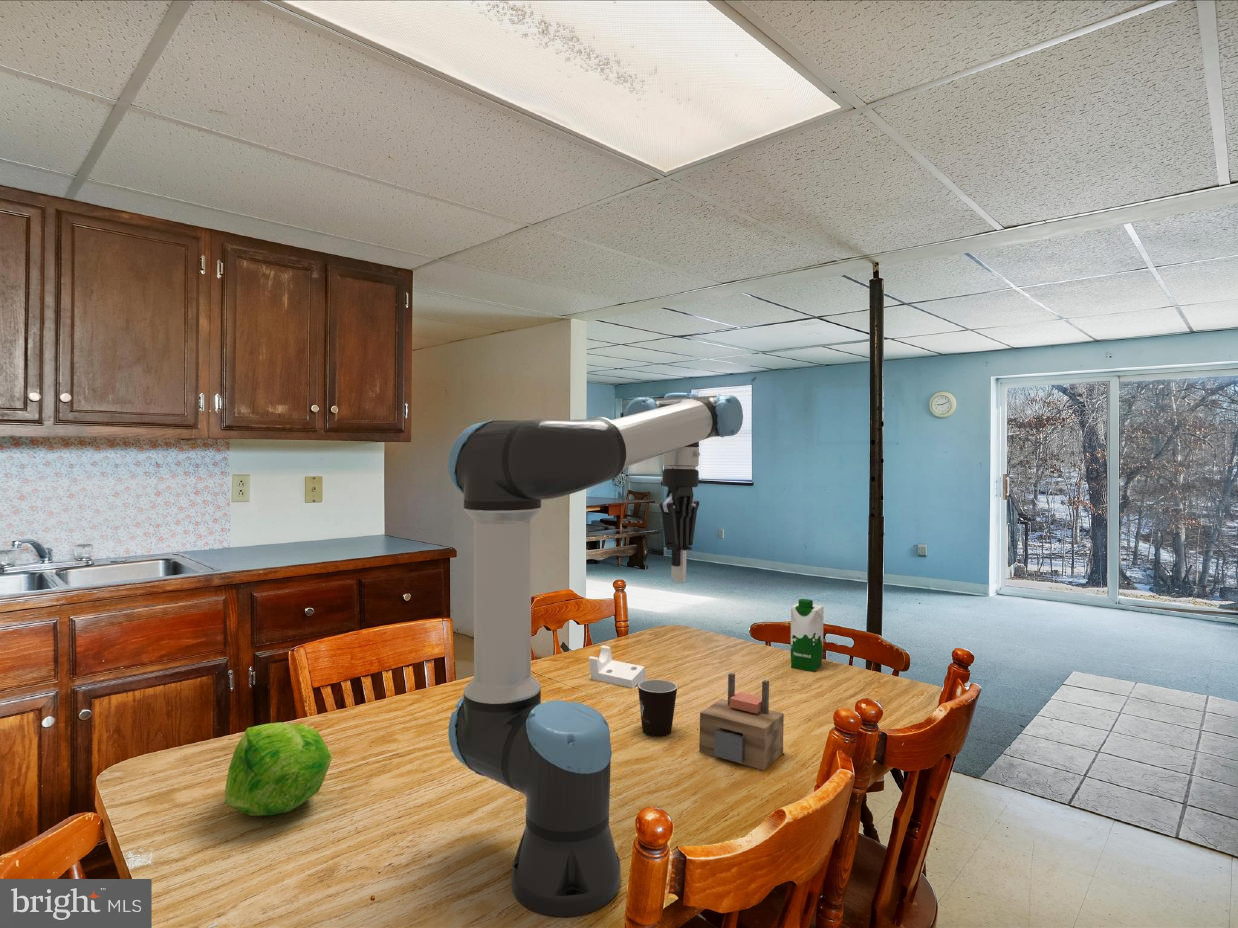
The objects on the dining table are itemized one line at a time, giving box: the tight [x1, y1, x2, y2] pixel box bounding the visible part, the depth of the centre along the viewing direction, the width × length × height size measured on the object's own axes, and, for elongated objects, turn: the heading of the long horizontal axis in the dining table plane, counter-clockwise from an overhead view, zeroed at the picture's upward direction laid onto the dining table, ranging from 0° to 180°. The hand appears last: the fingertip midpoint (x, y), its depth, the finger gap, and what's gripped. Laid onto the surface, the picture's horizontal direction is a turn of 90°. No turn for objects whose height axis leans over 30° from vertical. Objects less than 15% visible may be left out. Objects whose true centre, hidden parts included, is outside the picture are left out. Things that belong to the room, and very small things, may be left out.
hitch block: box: [698, 672, 785, 771], centre depth 136 cm, size 10×14×14 cm
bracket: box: [588, 645, 647, 689], centre depth 180 cm, size 13×7×8 cm, turn 58°
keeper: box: [730, 691, 762, 714], centre depth 138 cm, size 5×6×2 cm
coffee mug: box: [637, 678, 678, 738], centre depth 147 cm, size 12×9×10 cm
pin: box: [714, 729, 745, 764], centre depth 137 cm, size 15×6×5 cm, turn 145°
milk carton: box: [790, 598, 825, 673], centre depth 195 cm, size 9×9×20 cm
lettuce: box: [224, 721, 333, 817], centre depth 112 cm, size 15×20×14 cm
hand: (678, 581), depth 138 cm, fingers closed
